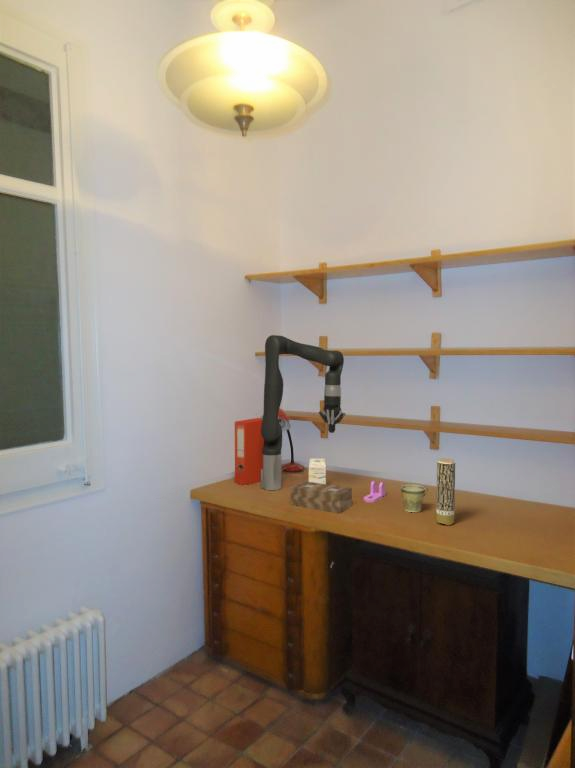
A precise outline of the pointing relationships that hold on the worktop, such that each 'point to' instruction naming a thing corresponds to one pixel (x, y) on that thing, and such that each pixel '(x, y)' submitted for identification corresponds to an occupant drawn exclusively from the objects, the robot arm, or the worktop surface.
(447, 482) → the paper tube
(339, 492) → the walnut block
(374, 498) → the bracket
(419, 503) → the ceramic cup
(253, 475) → the file binder
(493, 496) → the worktop surface
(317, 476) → the ink cartridge box
